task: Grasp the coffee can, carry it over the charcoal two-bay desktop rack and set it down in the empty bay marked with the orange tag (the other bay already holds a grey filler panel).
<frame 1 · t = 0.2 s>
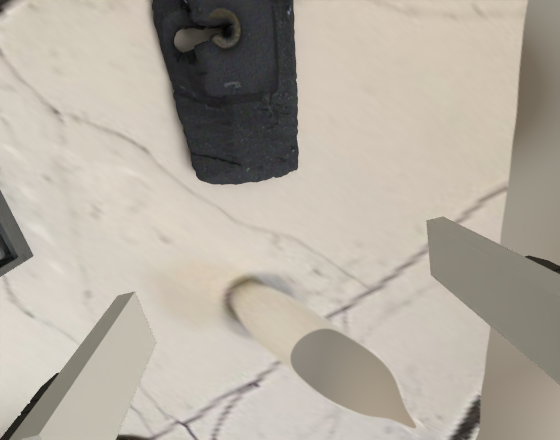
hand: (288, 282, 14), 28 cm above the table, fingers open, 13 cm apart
black pouch: (234, 89, 38), on the table
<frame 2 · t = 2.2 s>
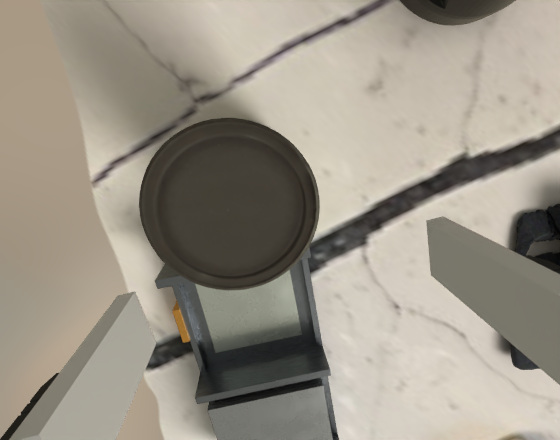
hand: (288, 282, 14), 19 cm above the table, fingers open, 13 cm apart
rack: (261, 348, 38), on the table
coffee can: (239, 173, 32), on the table
black pouch: (554, 284, 40), on the table
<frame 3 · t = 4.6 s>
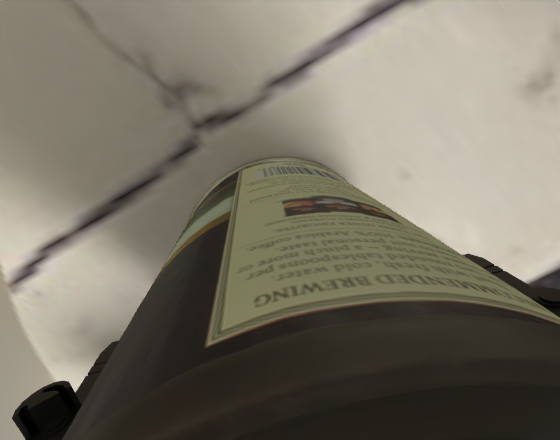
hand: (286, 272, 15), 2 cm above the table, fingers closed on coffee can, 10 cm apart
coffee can: (282, 251, 17), on the table, touching gripper
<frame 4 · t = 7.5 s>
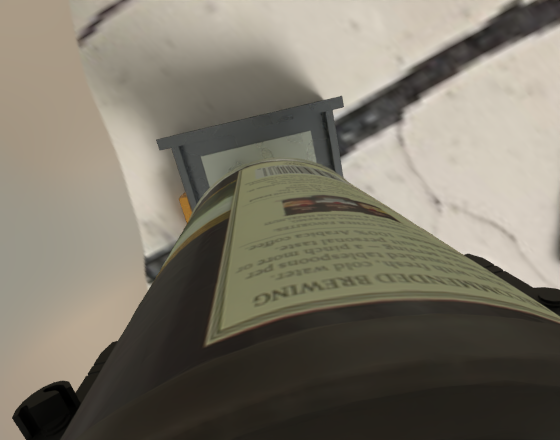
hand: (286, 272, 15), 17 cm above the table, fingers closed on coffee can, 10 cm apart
rack: (282, 256, 33), on the table
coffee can: (282, 251, 17), point 14 cm above the table, touching gripper
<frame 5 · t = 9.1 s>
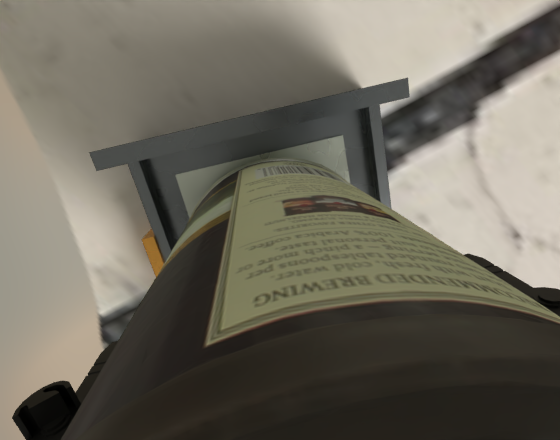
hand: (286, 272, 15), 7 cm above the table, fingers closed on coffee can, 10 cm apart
rack: (297, 311, 23), on the table
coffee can: (282, 251, 17), point 4 cm above the table, touching gripper
when the fingers open (5 cm above the table, at t = 10.4 s): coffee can drops 2 cm, resting on rack.
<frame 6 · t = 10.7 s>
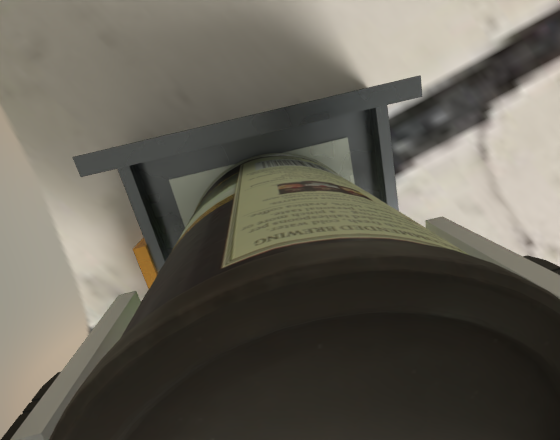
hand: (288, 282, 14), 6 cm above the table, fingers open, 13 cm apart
rack: (298, 323, 22), on the table
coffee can: (279, 239, 19), point 1 cm above the table, touching rack
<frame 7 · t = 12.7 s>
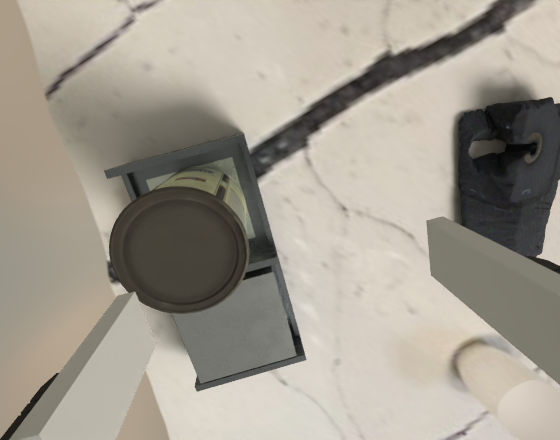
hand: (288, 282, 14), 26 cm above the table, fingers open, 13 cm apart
rack: (221, 257, 41), on the table
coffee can: (203, 208, 38), point 1 cm above the table, touching rack
black pouch: (500, 187, 43), on the table
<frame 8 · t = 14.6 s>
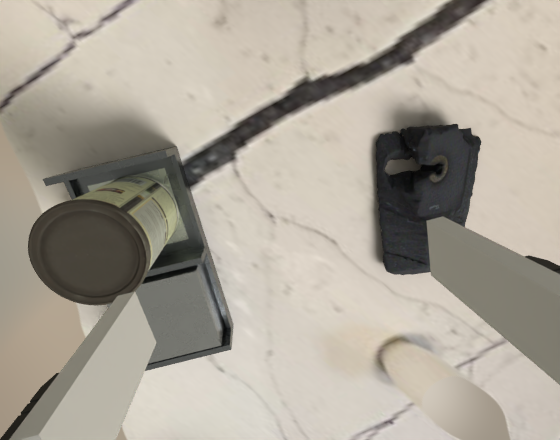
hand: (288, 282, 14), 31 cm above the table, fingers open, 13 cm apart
rack: (159, 255, 45), on the table
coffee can: (140, 212, 42), point 1 cm above the table, touching rack
black pouch: (419, 201, 47), on the table
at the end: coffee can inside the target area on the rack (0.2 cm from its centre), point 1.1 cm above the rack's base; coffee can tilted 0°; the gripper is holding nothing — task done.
